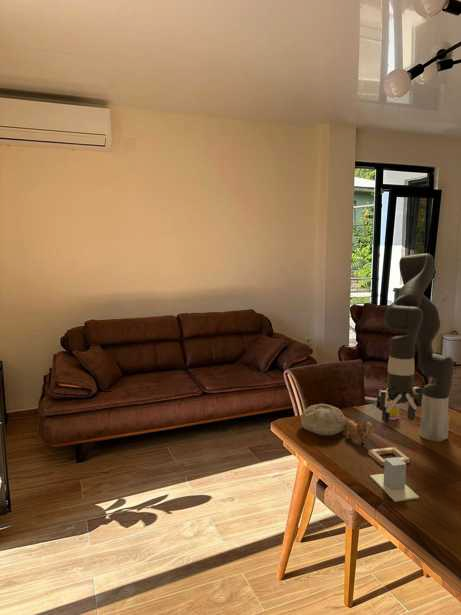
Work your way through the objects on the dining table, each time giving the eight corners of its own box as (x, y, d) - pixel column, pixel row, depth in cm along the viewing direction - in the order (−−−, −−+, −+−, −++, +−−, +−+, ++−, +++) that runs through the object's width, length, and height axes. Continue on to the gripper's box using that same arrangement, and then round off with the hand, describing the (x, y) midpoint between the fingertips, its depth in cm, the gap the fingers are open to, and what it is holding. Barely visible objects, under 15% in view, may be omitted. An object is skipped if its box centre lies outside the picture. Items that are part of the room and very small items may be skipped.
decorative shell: (324, 444, 163) (325, 419, 162) (291, 428, 178) (291, 405, 176) (354, 432, 174) (355, 409, 173) (320, 418, 188) (321, 396, 187)
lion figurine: (376, 445, 163) (377, 422, 162) (367, 449, 160) (368, 426, 159) (345, 431, 175) (346, 410, 174) (336, 435, 172) (337, 413, 171)
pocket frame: (394, 450, 159) (394, 447, 158) (409, 462, 150) (409, 458, 150) (368, 453, 156) (368, 449, 156) (382, 466, 148) (382, 461, 148)
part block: (396, 480, 138) (397, 457, 136) (404, 488, 133) (406, 464, 132) (383, 482, 137) (384, 458, 135) (391, 490, 132) (393, 465, 131)
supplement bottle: (379, 414, 192) (381, 387, 191) (393, 413, 194) (395, 386, 192) (387, 420, 186) (389, 392, 184) (401, 419, 187) (403, 391, 185)
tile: (391, 474, 142) (392, 472, 142) (419, 498, 129) (419, 496, 129) (370, 476, 141) (370, 475, 141) (395, 501, 127) (395, 499, 127)
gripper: (413, 365, 137) (410, 414, 139) (373, 369, 134) (371, 418, 136) (429, 372, 130) (426, 423, 132) (387, 376, 127) (384, 428, 129)
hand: (398, 421), depth 134 cm, fingers open, 8 cm apart
